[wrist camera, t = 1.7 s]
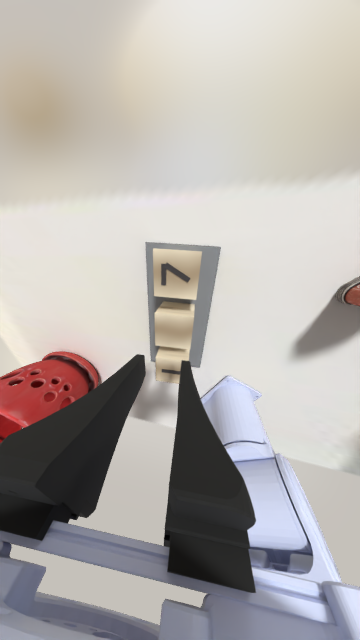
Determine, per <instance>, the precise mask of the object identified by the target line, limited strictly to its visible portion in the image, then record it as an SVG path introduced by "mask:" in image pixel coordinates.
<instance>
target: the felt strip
mask: <svg viewBox="0 0 360 640" xmlns="http://www.w3.org/2000/svg"><path fill="white" fill-rule="evenodd" d="M153 248H157V249H172V250H187V251H202V256H201V265H200V273H199V281H198V289H197V298H196V300H191V299H180V298H169V297H159V296H154V273H153ZM220 249H221V247H215V246H199V245H183V244H167V243H151V242H146V263H147V285H148V307H149V329H150V351H151V361H154V362H156V355H157V353H158V350H159V348H160V346H156V345H155V314H154V313H155V312H156V311H157V309H158V308H159V306H160V305H161V304H162V302H163V301H166V302H177V303H187V304H195V307H194V323H193V331H192V339H191V347H190V351H189V361H190V362H191V366H192V367H200V364H201V358H202V352H203V347H204V341H205V335H206V330H207V324H208V318H209V312H210V307H211V301H212V295H213V289H214V284H215V278H216V272H217V266H218V261H219V255H220Z"/></svg>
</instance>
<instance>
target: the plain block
mask: <svg viewBox="0 0 360 640" xmlns="http://www.w3.org/2000/svg"><path fill="white" fill-rule="evenodd" d="M194 307H195V304H187V303H177V302H166V301H163V302H162V304H161V305H160V306H159V308H158V309H157V311H156V312H155V313H154V314H155V345H156V346H164V347H172V348H181V349H189V350H190V347H191V339H192V331H193V323H194Z"/></svg>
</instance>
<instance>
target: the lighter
mask: <svg viewBox="0 0 360 640" xmlns="http://www.w3.org/2000/svg"><path fill="white" fill-rule="evenodd" d="M336 299H337V300H338V301H339V302H342V303H345V304H348V305H357V306H360V276H359V277H357V278H355V279H353V280H351V281H349V282H348V283H346V284H344V285H342V286H341V287H340V288H339V289H338V291H337V293H336Z"/></svg>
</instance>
